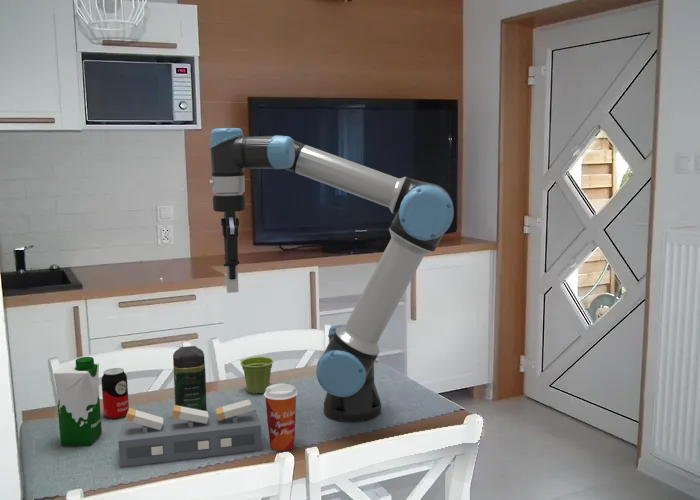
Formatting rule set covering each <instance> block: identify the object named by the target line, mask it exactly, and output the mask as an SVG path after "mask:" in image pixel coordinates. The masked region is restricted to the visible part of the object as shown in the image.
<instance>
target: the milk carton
mask: <svg viewBox="0 0 700 500" xmlns="http://www.w3.org/2000/svg"><path fill="white" fill-rule="evenodd" d="M99 370H100V363H98V362H95V359H94V357H92V356H84V357H83V356H82V357H79V358H77V359H75V363H72V362H71V363H70V362H69V363H66V364H64V365H63V366H62V367H60V368H58V369H57V370H56V371H55V372H53V373H52V375H53V378H54V384H55V389H56V400H57V401H56V404H57V415H58V417H57V418H58V428H59V437H60V446H61V447H62V446H63V447H67V446H70V447H73V446H75V447H77V446H78V447H81V446H83V447H87V446H89V447H91V446H92V445H93V444H94V443H95V442H96V441H97V439H99V437H101V435H102V434H103V430H102V413H101V401H100V388H99V386H100V385H99Z"/></svg>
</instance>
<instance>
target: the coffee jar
mask: <svg viewBox="0 0 700 500" xmlns="http://www.w3.org/2000/svg"><path fill="white" fill-rule="evenodd" d="M172 359H173V363H172V364H173V388H174V405H178V406H182V407H187V408H192V409H197V410H203V411H208V409H207V381H206V380H207V378H206V361H205V354H204V350H202V349H201V348H199V347H197V346H196V345H190V346H180V347H179V348H178V349H176V350H175V351H174V352H173V355H172Z"/></svg>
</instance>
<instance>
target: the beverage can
mask: <svg viewBox="0 0 700 500" xmlns="http://www.w3.org/2000/svg"><path fill="white" fill-rule="evenodd" d="M100 380H101V390H102V391H101V392H102V393H101V394H102V406H103V410H102V411H103V415H104V416H105V417H106V418H108V419H116V420H117V419H120V418H123V417H126V415H127V412H128V409H129V408H130V406H129V405H130V404H129V389H128V375H127V374H126V372H125V369H124V368H120V367H115V368H108V369H105V370H103V375H102V377H101V379H100Z"/></svg>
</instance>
